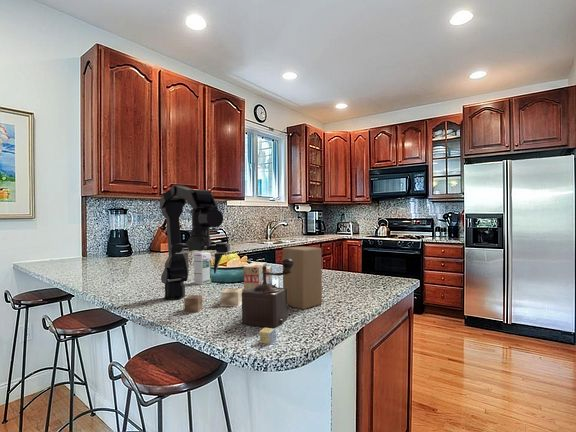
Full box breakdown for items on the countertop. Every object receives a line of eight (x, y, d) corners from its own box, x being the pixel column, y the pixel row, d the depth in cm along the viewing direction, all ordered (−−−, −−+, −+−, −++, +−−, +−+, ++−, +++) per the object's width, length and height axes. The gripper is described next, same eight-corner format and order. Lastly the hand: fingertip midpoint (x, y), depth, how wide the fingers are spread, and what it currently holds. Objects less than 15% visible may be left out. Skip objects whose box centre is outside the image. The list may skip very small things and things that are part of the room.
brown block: (184, 313, 109) (184, 298, 109) (189, 310, 113) (188, 295, 113) (198, 313, 109) (198, 298, 109) (202, 310, 113) (202, 295, 113)
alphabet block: (270, 345, 82) (270, 332, 82) (259, 343, 83) (259, 330, 83) (276, 340, 85) (276, 328, 85) (265, 338, 86) (265, 327, 86)
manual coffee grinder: (275, 329, 93) (274, 264, 93) (240, 325, 97) (240, 262, 97) (296, 314, 107) (296, 257, 107) (265, 311, 111) (265, 256, 111)
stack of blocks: (258, 286, 151) (258, 259, 151) (272, 287, 150) (272, 259, 150) (243, 298, 130) (243, 266, 130) (259, 298, 129) (259, 266, 129)
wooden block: (301, 299, 126) (301, 246, 126) (322, 304, 119) (322, 247, 119) (282, 304, 119) (282, 248, 119) (303, 310, 112) (302, 249, 112)
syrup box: (202, 284, 155) (202, 253, 155) (193, 283, 159) (193, 252, 159) (211, 282, 160) (211, 252, 160) (202, 281, 163) (202, 251, 163)
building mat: (202, 310, 112) (202, 309, 112) (215, 299, 127) (215, 298, 127) (240, 311, 111) (240, 309, 111) (249, 300, 126) (249, 298, 126)
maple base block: (221, 305, 117) (221, 292, 117) (226, 300, 123) (226, 288, 123) (238, 305, 117) (238, 292, 117) (242, 301, 123) (242, 288, 123)
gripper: (164, 228, 105) (164, 278, 105) (224, 227, 105) (225, 277, 105) (175, 227, 116) (175, 272, 116) (230, 226, 116) (230, 271, 116)
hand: (201, 273), depth 113 cm, fingers open, 9 cm apart
